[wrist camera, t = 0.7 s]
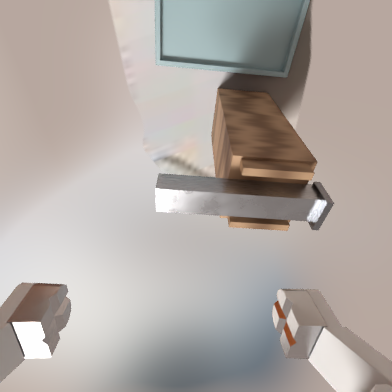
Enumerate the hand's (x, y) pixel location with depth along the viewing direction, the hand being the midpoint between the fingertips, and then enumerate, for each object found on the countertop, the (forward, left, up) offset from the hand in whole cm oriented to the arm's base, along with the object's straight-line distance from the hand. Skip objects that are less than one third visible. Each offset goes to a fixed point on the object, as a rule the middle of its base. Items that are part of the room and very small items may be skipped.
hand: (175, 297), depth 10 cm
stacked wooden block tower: (+1, +14, -46) cm, 48 cm away
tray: (-7, +1, -46) cm, 47 cm away
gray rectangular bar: (+3, +12, -20) cm, 23 cm away
